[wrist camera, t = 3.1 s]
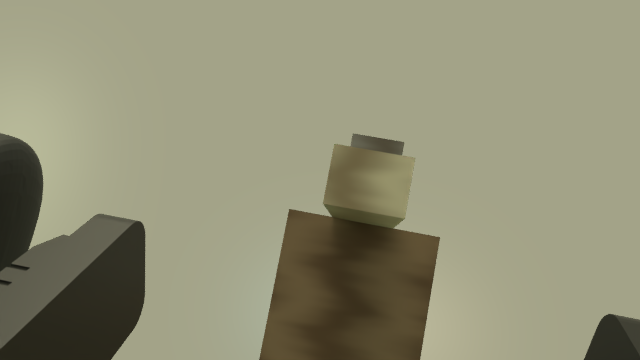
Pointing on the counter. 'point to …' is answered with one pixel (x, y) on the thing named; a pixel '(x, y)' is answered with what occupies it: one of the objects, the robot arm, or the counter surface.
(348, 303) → the walnut step stand
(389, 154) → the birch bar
